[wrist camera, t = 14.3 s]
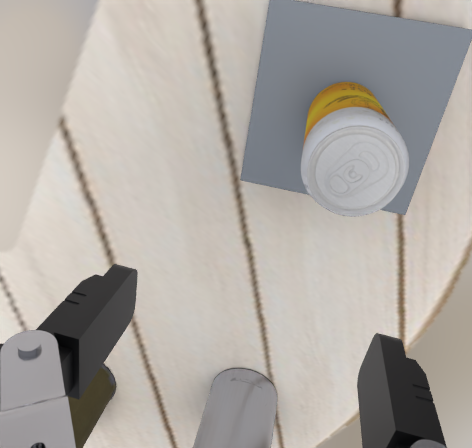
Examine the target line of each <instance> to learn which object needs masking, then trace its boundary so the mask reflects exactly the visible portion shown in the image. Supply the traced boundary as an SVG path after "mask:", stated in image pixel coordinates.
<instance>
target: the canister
mask: <svg viewBox="0 0 472 448" xmlns="http://www.w3.org/2000/svg"><path fill="white" fill-rule="evenodd" d="M115 390H116V384H115V379H114V377H113V375H112V373H111V372H110V371H109V369H108V368H107V367H106V366H105V365H104V364H102V366H101V367H100V369H99V370H98V372H97V374H96V375H95V377H94V378H93V380H92V381H91V383H90V384H89V386H88V387H87V389H86V390H85V392H84V393H83V395H82V396H81V398H80V399H75V398H72V397H69V396H68V401H69V407H70V413H71V420H72V426H73V432H74V439H75V445H76V448H83V446H84V444H85V443H86V441H87V439H88V437H89V435H90V434H91V432H92V430H93V428H94V427H95V425H96V423H97V421H98V419H99V418H100V416H101V414H102V412H103V411H104V409H105V407H106V405H107V404H108V402H109V400H110V399H111V398H112V397H113V396H114V394H115Z"/></svg>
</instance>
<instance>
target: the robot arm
mask: <svg viewBox="0 0 472 448" xmlns="http://www.w3.org/2000/svg"><path fill="white" fill-rule="evenodd" d="M136 288H137V270H136V269H132V268H128V267H124V266H121V265H117V264H114V265H113V266H112V267H111V268H110V269H109V270H108V271H107V273H106V274H105V275H104V276H99V275H94V276H92V277H90V278H88V279H86V280H84V281H82V282H81V283H80V284H79V285H78V286H77V287H76V288H75V289H74V290H73V291H72V293H70V294H69V295H68V296H67V297H66V298H65V301H63V302H62V303H61V304H60V305H59V306H58V307H57V308H56V309H55V310H54V311H53V312H52V313H51V314H50V315H49V316H48V317H47V319H46V320H45V321H44V322H43V323H42V324H41V325H40V326H39V327H38V328H37V329H36V330H30V331H25V332H21V333H18V334H16V335H14V336H13V337H11V338H10V339H8V340H7V341H6V342H5V343H4V344H0V448H76V445H75V439H74V432H73V426H72V420H71V413H70V407H69V401H68V396H69V397H72V398H75V399H80V398H81V396H82V395H83V393H84V392H85V390H86V389H87V387H88V386H89V384H90V383H91V381H92V380H93V378H94V377H95V375H96V374H97V372H98V370H99V369H100V367H101V366H102V364H103V363H104V361H105V360H106V358H107V357H108V355H109V354H110V352H111V351H112V349H113V348H114V346H115V345H116V343H117V342H118V340H119V338H120V337H121V335H122V334H123V332H124V331H125V329H126V328H127V326H128V325H129V323H130V321H131V319H132V316H133V313H134V309H135V301H136ZM357 388H358V400H359V411H360V422H361V433H362V445H363V448H447V447H446V444H445V440H444V436H443V433H442V430H441V426H440V422H439V419H438V415H437V412H436V408H435V405H434V403H433V398H432V395H431V392H430V391H429V390H430V387H429V384H428V381H427V377H426V374H425V373H424V371H423V370H422V369H421V367H420V366H419V364H418V363H417V362H416V360H413V359H409V358H406V355H405V351H404V347H403V343H402V340H401V339H398V338H394V337H390V336H386V335H382V334H378V333H376V334H375V335H374V337H373V339H372V342H371V344H370V346H369V349H368V351H367V353H366V356H365V358H364V360H363V363H362V365H361V368H360V371H359V375H358V383H357ZM276 406H277V393H276V389H275V388H274V386H273V384H272V383H271V382H270V381H269V380H268V379H267V378H265V377H264V376H262V375H261V374H259V373H257V372H254V371H251V370H247V369H230V370H226V371H224V372H222V373H220V374H219V375H218V376H217V377H216V378H215V379H214V381H213V384H212V387H211V390H210V393H209V397H208V400H207V403H206V406H205V409H204V413H203V416H202V419H201V422H200V426H199V429H198V432H197V435H196V439H195V442H194V445H193V448H271V444H272V437H273V429H274V422H275V414H276Z"/></svg>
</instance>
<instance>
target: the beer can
mask: <svg viewBox="0 0 472 448" xmlns="http://www.w3.org/2000/svg"><path fill="white" fill-rule="evenodd" d="M408 169H409V153H408V149H407V146H406V143H405V141H404V140H403V138H402V136H401V135H400V133H399V132H398V130H397V129H396V127H395V126H394V124H393V123H392V121H391V120H390V118H389V117H388V115H387V114H386V112H385V111H384V109H383V108H382V106H381V105H380V103H379V102H378V100H377V99H376V97H375V96H374V95H373V93H372V92H371V91H370V90H368V89H367V88H366V87H364V86H362V85H360V84H357V83H353V82H340V83H336V84H333V85H330V86H328V87H327V88H325V89H324V90H322V91H321V92H320V93H319V94H318V95H317V96H316V97H315V99H314V100H313V102H312V103H311V105H310V108H309V111H308V116H307V123H306V131H305V138H304V145H303V152H302V159H301V176H302V180H303V183H304V186H305V188H306V190H307V191H308V193H309V194H310V196H311V197H312V198H313V199H314V200H315V201H316V202H317V203H318V204H320V205H321V206H323V207H324V208H326V209H328V210H329V211H331V212H333V213H336V214H339V215H343V216H363V215H368V214H371V213H373V212H376V211H378V210H380V209H382V208H383V207H384V206H386V205H387V204H388V203H389V202H391V201H392V199H393V198H394V197H395V196H396V195H397V193H398V192H399V191H400V189H401V188H402V186H403V184H404V182H405V180H406V177H407V174H408Z"/></svg>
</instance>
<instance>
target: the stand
mask: <svg viewBox="0 0 472 448" xmlns="http://www.w3.org/2000/svg"><path fill="white" fill-rule="evenodd" d="M471 40H472V30H471V29H465V28H459V27H453V26H447V25H440V24H434V23H428V22H422V21H416V20H410V19H404V18H398V17H392V16H386V15H379V14H373V13H367V12H361V11H355V10H349V9H343V8H337V7H331V6H325V5H319V4H312V3H306V2H300V1H294V0H270V2H269V8H268V14H267V20H266V26H265V32H264V38H263V45H262V51H261V57H260V63H259V69H258V75H257V81H256V87H255V94H254V100H253V106H252V112H251V118H250V124H249V130H248V136H247V143H246V149H245V155H244V161H243V167H242V173H241V179H240V180H242V181H247V182H251V183H256V184H261V185H266V186H270V187H275V188H280V189H284V190H289V191H294V192H299V193H303V194H308V195H310V194H309V193H308V191H307V190H306V188H305V186H304V183H303V180H302V176H301V159H302V152H303V145H304V138H305V131H306V123H307V116H308V111H309V108H310V105H311V103H312V102H313V100H314V99H315V97H316V96H317V95H318V94H319V93H320V92H321V91H322V90H324V89H325V88H327V87H328V86H330V85H333V84H336V83H340V82H353V83H357V84H360V85H362V86H364V87H366V88H367V89H368V90H370V91H371V92H372V93H373V95H374V96H375V97H376V99H377V100H378V102H379V103H380V105H381V106H382V108H383V109H384V111H385V112H386V114H387V115H388V117H389V118H390V120H391V121H392V123H393V124H394V126H395V127H396V129H397V130H398V132H399V133H400V135H401V136H402V138H403V140H404V141H405V143H406V146H407V149H408V153H409V169H408V174H407V177H406V180H405V182H404V184H403V186H402V188H401V189H400V191H399V192H398V193H397V195H396V196H395V197H394V198H393V199H392V201H391V202H389V203H388V204H387V205H386V206H384V207H383V208H382V209H380V210H384V211H389V212H393V213H398V214H403V215H405V214H406V212H407V209H408V206H409V204H410V201H411V198H412V196H413V193H414V191H415V188H416V185H417V183H418V180H419V177H420V175H421V172H422V169H423V167H424V164H425V161H426V159H427V156H428V154H429V151H430V148H431V146H432V143H433V140H434V138H435V135H436V132H437V130H438V127H439V124H440V122H441V119H442V117H443V114H444V111H445V109H446V106H447V103H448V101H449V98H450V95H451V93H452V90H453V88H454V85H455V82H456V80H457V77H458V74H459V72H460V69H461V66H462V64H463V61H464V58H465V56H466V53H467V51H468V48H469V45H470V43H471Z"/></svg>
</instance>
